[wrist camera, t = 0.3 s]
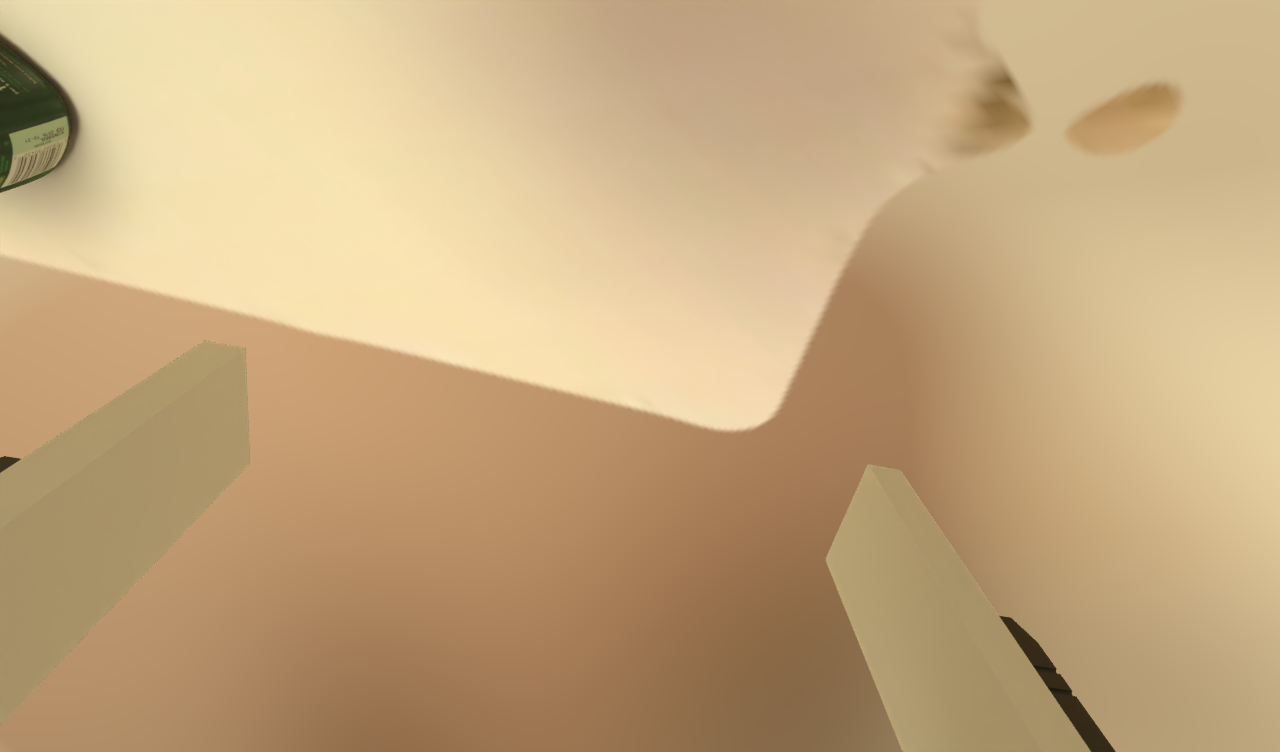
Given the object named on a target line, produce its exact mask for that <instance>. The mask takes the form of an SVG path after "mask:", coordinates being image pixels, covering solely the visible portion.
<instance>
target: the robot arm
mask: <svg viewBox="0 0 1280 752" xmlns="http://www.w3.org/2000/svg"><path fill="white" fill-rule="evenodd" d="M249 464H250V444H249V420H248V396H247V372H246V349H245V348H242V347H237V346H232V345H227V344H221V343H216V342H211V341H203V342H202V343H200V344H198V345H197V346H195V347H194V348H192V349H191V350H189V351H188V352H186V353H185V354H183V355H181V356H180V357H178V358H177V359H175V360H174V361H172V362H171V363H169V364H168V365H166V366H165V367H163V368H161V369H160V370H158V371H157V372H155V373H154V374H152V375H151V376H149V377H148V378H146V379H144V380H143V381H141V382H140V383H139V384H137V385H135V386H134V387H132V388H131V389H129V390H127V391H126V392H124V393H123V394H122V395H120V396H118V397H117V398H115V399H114V400H112V401H110V402H109V403H108V404H106V405H105V406H103V407H101V408H100V409H98V410H97V411H95V412H94V413H92V414H90V415H89V416H87V417H86V418H84V419H83V420H81V421H80V422H78V423H77V424H75V425H73V426H72V427H70V428H69V429H67V430H66V431H64V432H63V433H61V434H60V435H58V436H56V437H55V438H53V439H52V440H51V441H49V442H47V443H46V444H44V445H43V446H41V447H40V448H38V449H36V450H35V451H33V452H32V453H30V454H29V455H27V456H26V457H24V458H23V459H19V458H12V457H6V456H4V457H1V458H0V726H1V725H2V724H3V723H4V722H5V721H6V720H7V718H8V717H9V716H10V715H11V714H12V713H13V712H14V711H15V710H16V709H17V708H18V707H19V706H20V705H21V704H22V703H23V702H24V701H25V699H27V697H28V696H29V695H30V694H31V693H32V692H33V691H34V690H35V689H36V688H37V687H38V686H39V685H40V684H41V683H42V682H43V680H45V678H46V677H47V676H48V675H49V674H50V673H51V672H52V671H53V670H54V669H55V668H56V667H57V666H58V665H59V664H60V663H61V662H62V661H63V660H64V659H65V658H66V656H67V655H68V654H69V653H70V652H71V651H72V650H73V649H74V648H75V647H76V646H77V645H78V644H79V643H80V642H81V640H83V639H84V638H85V636H86V635H87V634H88V633H89V632H90V631H91V630H92V629H93V628H94V627H95V626H96V625H97V624H98V623H99V622H100V621H101V620H102V619H103V618H104V617H105V615H106V614H107V613H108V612H109V611H110V610H111V609H112V608H113V607H114V606H115V605H116V604H117V603H118V602H119V601H120V600H121V599H122V597H124V595H125V594H126V593H127V592H128V591H129V590H130V589H131V588H132V587H133V586H134V585H135V584H136V583H137V582H138V581H139V580H140V579H141V578H142V576H143V575H144V574H145V573H146V572H147V571H148V570H149V569H150V568H151V567H152V566H153V565H154V564H155V563H156V561H158V560H159V558H161V557H162V556H163V554H164V553H165V552H166V551H167V550H168V549H169V548H170V547H171V546H172V545H173V544H174V543H175V542H176V541H177V540H178V539H179V538H180V536H182V534H183V533H184V532H185V531H186V530H187V529H188V528H189V527H190V526H191V525H192V524H193V523H194V522H195V521H196V520H197V519H198V518H199V517H200V515H201V514H202V513H203V512H204V511H205V510H206V509H207V508H208V507H209V506H210V505H211V504H212V503H213V502H214V501H215V500H216V499H217V498H218V497H219V496H220V494H221V493H222V492H223V491H224V490H225V489H226V488H227V487H228V486H229V485H230V484H231V483H232V482H233V481H234V479H236V478H237V477H238V476H239V474H240V473H241V472H242V471H243V470H244V469H245V468H246V467H247V466H248V465H249ZM825 560H826V562H827V565H828V567H829V570H830V572H831V575H832V577H833V580H834V582H835V585H836V587H837V589H838V592H839V595H840V597H841V600H842V602H843V604H844V607H845V609H846V612H847V614H848V617H849V619H850V622H851V624H852V627H853V629H854V632H855V634H856V637H857V639H858V642H859V644H860V647H861V649H862V652H863V654H864V657H865V659H866V662H867V664H868V666H869V669H870V672H871V674H872V676H873V679H874V682H875V684H876V686H877V689H878V692H879V694H880V697H881V699H882V701H883V703H884V706H885V709H886V711H887V714H888V716H889V719H890V721H891V724H892V726H893V729H894V731H895V734H896V736H897V739H898V741H899V744H900V746H901V748H902V751H903V752H1115V750H1114V749H1113V747H1112V746H1111V745H1110V743H1109V742H1108V740H1107V739H1106V738H1105V736H1104V735H1103V733H1102V732H1101V731H1100V729H1099V728H1098V726H1097V725H1096V724H1095V722H1094V721H1093V719H1092V718H1091V717H1090V715H1089V714H1088V713H1087V711H1086V710H1085V708H1084V707H1083V706H1082V704H1081V703H1080V701H1079V700H1078V699H1077V697H1075V696H1072V690H1071V689H1070V687H1069V686H1068V684H1067V683H1066V682H1065V680H1064V679H1063V677H1062V676H1061V675H1060V674H1057V673H1056V668H1055V666H1054V665H1053V663H1052V662H1051V661H1050V659H1049V658H1048V656H1047V655H1046V654H1045V652H1044V651H1043V649H1042V648H1041V647H1040V645H1039V644H1038V642H1036V640H1034V639H1033V638H1032V637H1031V636H1030V635H1029V634H1028V633H1027V632H1026V631H1025V630H1024V629H1022V628H1021V627H1020V626H1019V625H1018V624H1017V623H1016V622H1015V621H1014V620H1013V619H1012V618H1009V617H1003V616H999V615H998V614H997V612H996V611H995V609H994V608H993V606H992V605H991V603H990V602H989V601H988V599H987V598H986V596H985V594H984V593H983V592H982V590H981V589H980V587H979V586H978V584H977V583H976V581H975V580H974V578H973V577H972V575H971V574H970V572H969V571H968V569H967V568H966V566H965V565H964V563H963V562H962V561H961V559H960V557H959V556H958V555H957V553H956V552H955V550H954V549H953V547H952V546H951V544H950V543H949V541H948V540H947V538H946V537H945V535H944V534H943V532H942V531H941V530H940V528H939V527H938V525H937V524H936V522H935V521H934V519H933V518H932V516H931V515H930V513H929V512H928V510H927V509H926V507H925V506H924V504H923V503H922V501H921V500H920V499H919V497H918V495H917V494H916V493H915V491H914V490H913V488H912V487H911V485H910V484H909V482H908V481H907V479H906V478H905V476H904V475H903V474H902V472H901V470H897V469H892V468H885V467H881V466H875V465H869V464H868V465H867V467H866V470H865V472H864V474H863V477H862V479H861V481H860V483H859V485H858V488H857V490H856V492H855V494H854V497H853V499H852V501H851V503H850V506H849V508H848V510H847V512H846V515H845V517H844V519H843V521H842V524H841V526H840V528H839V530H838V532H837V535H836V537H835V539H834V541H833V544H832V546H831V548H830V550H829V553H828V555H827V557H826V559H825Z"/></svg>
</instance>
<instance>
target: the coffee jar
mask: <svg viewBox="0 0 1280 752" xmlns="http://www.w3.org/2000/svg"><path fill="white" fill-rule="evenodd" d="M70 131H71V125H70V119H69V115H68V112H67V109H66V107H65V105H64V102H63V100H62V98H61V97H60V95H59V94H58V92H57V91H56V90H55V89H54V88H53V86H52V85H51V84H50V83H49V82H48V81H47V80H46V79H45V78H44V77H43V76H41V75H40V74H39V73H38V72H37V71H36V70H35V69H33V68H32V67H31V66H30V65H29V64H28V63H27V62H26V61H24V60H23V59H22V58H20V57H19V56H18V55H17V54H16V53H15V52H13V51H12V50H11V49H10V48H9V47H7V46H6V45H5V44H3V43H2V42H0V193H1V192H4V191H7V190H10V189H13V188H16V187H18V186H21V185H24V184H27V183H29V182H31V181H34V180H36V179H39V178H41V177H43V176H45V175H46V174H48V173H49V172H51V171H52V170H53V168H54V167H55V166H56V165H57V164H58V163H59V161H60V160H61V158H62V157H63V155H64V153H65V151H66V149H67V146H68V143H69V139H70Z"/></svg>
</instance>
